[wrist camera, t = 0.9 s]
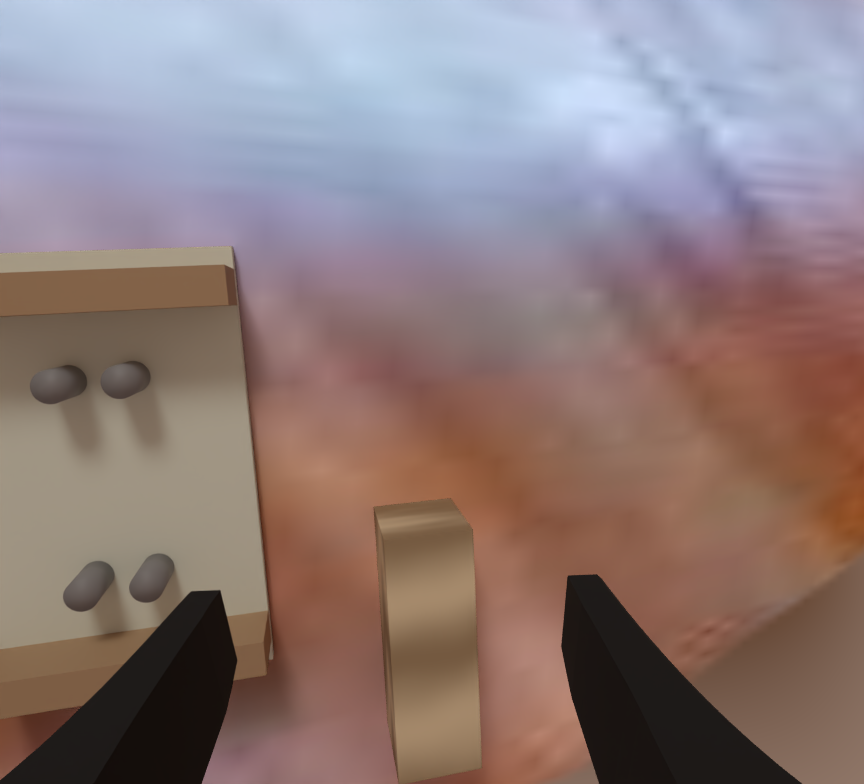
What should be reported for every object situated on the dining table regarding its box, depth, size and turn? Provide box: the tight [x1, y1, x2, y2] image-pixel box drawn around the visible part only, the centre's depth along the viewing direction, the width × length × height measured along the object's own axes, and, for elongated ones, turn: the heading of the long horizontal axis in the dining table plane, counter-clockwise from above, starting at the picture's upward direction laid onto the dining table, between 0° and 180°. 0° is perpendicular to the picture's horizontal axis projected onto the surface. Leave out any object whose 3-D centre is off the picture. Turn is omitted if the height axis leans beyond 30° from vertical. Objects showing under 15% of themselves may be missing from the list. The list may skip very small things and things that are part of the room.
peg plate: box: [0, 246, 274, 719], centre depth 25 cm, size 20×12×3 cm, turn 3°
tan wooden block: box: [374, 498, 482, 784], centre depth 29 cm, size 12×4×5 cm, turn 3°
